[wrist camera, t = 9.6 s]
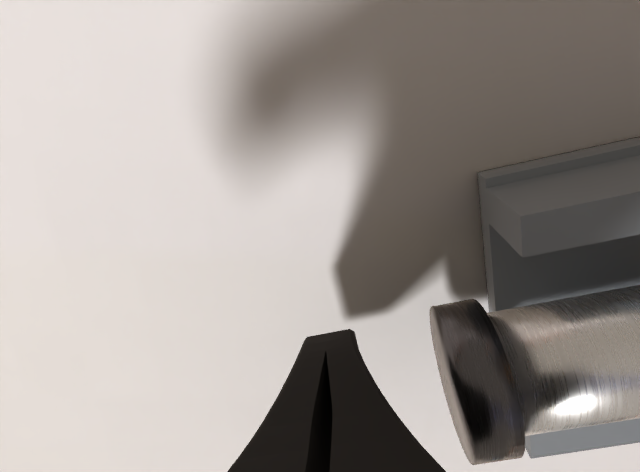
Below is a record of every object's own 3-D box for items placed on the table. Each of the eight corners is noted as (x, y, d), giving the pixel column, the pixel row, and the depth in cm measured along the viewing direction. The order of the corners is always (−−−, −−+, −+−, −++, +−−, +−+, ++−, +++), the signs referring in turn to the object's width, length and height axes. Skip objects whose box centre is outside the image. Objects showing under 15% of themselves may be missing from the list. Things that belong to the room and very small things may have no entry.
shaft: (705, 224, 10) (887, 305, 7) (687, 339, 12) (831, 453, 8) (423, 280, 11) (466, 377, 8) (439, 382, 12) (481, 502, 9)
